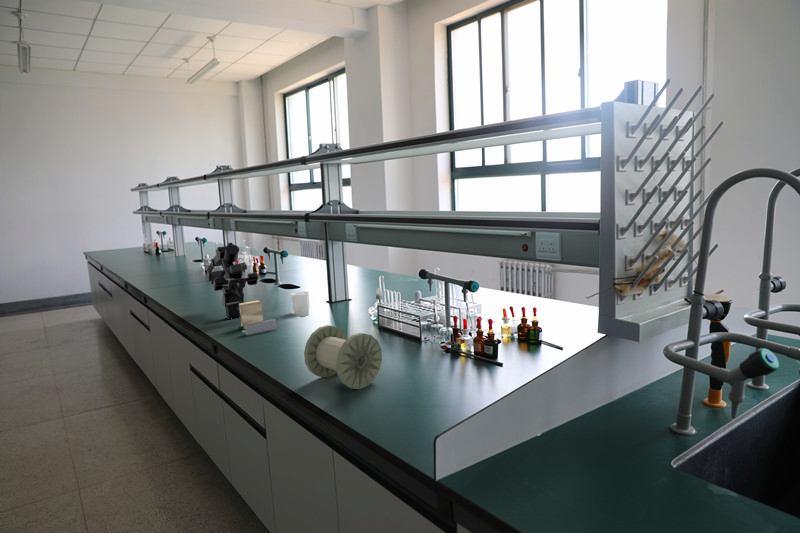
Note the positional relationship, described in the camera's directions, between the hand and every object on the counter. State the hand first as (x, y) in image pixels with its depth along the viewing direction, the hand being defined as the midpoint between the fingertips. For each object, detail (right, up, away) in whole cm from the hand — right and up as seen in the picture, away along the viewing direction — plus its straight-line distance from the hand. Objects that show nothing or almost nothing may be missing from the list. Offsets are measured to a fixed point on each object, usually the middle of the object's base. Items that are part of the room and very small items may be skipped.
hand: (241, 296), depth 223 cm
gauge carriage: (+7, -12, -8) cm, 16 cm away
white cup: (+24, -9, +12) cm, 28 cm away
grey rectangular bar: (+13, -13, -17) cm, 25 cm away
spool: (+52, -20, -73) cm, 92 cm away
